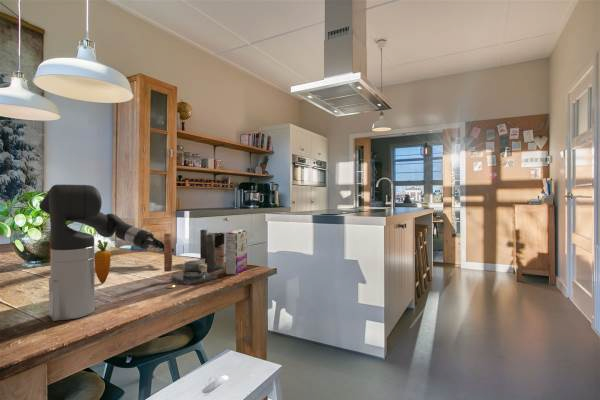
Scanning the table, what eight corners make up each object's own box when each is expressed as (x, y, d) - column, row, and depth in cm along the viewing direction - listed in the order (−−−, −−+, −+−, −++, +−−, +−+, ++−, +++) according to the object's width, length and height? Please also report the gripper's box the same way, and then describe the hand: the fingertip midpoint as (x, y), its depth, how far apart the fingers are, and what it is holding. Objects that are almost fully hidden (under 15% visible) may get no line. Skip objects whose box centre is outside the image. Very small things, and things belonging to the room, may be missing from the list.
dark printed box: (213, 269, 131) (213, 233, 131) (205, 267, 136) (205, 231, 136) (227, 267, 136) (227, 232, 136) (219, 264, 141) (219, 230, 140)
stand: (168, 288, 105) (168, 279, 105) (153, 281, 114) (153, 272, 113) (218, 278, 118) (218, 270, 118) (201, 272, 127) (201, 264, 127)
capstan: (181, 279, 104) (181, 238, 104) (159, 270, 116) (159, 233, 116) (228, 270, 117) (229, 233, 117) (205, 262, 129) (205, 229, 129)
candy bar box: (236, 268, 135) (236, 229, 134) (247, 268, 134) (247, 229, 134) (224, 274, 124) (224, 232, 124) (236, 275, 123) (237, 232, 123)
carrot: (113, 283, 110) (113, 240, 110) (96, 286, 107) (96, 241, 106) (108, 280, 114) (108, 238, 113) (92, 283, 110) (92, 240, 110)
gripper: (141, 250, 144) (173, 263, 141) (126, 239, 133) (161, 253, 129) (150, 236, 148) (182, 248, 144) (137, 224, 136) (171, 237, 133)
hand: (172, 251), depth 137 cm, fingers closed
